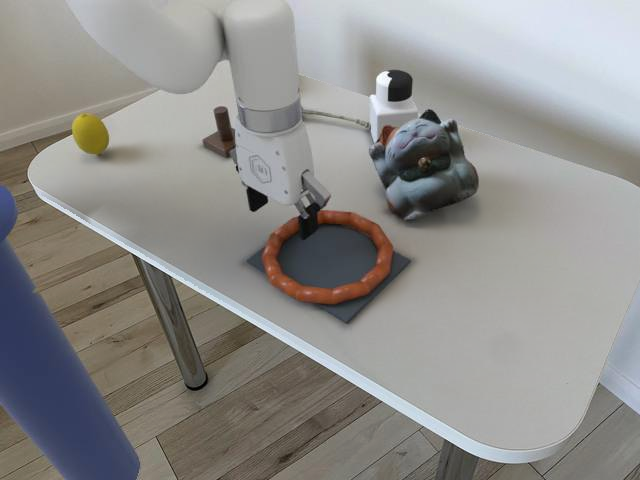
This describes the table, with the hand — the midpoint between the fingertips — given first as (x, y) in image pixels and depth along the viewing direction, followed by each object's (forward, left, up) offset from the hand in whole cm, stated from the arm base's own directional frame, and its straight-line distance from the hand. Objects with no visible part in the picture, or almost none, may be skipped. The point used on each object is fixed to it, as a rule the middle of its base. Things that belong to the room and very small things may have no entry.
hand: (283, 220), depth 78 cm
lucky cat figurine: (+20, -10, -4) cm, 23 cm away
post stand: (+12, +26, -4) cm, 29 cm away
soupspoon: (+28, +18, -4) cm, 33 cm away
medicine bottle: (+32, +4, -4) cm, 32 cm away
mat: (0, -8, -4) cm, 9 cm away
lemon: (-4, +42, -4) cm, 42 cm away
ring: (0, -8, -2) cm, 8 cm away
